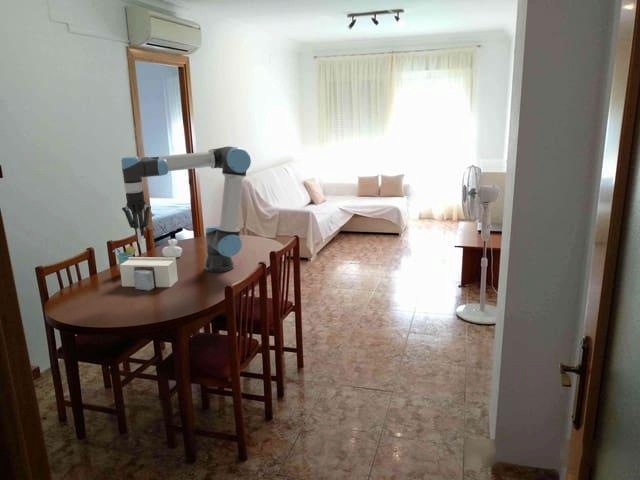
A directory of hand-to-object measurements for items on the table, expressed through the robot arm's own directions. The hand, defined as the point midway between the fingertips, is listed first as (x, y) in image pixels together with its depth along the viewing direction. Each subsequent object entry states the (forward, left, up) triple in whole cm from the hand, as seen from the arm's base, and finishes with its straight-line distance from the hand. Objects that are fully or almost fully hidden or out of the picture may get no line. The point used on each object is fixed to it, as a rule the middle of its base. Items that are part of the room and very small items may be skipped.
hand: (141, 242), depth 231 cm
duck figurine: (+9, -56, -24) cm, 62 cm away
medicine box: (+2, -2, -24) cm, 24 cm away
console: (+2, -9, -23) cm, 25 cm away
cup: (+21, -22, -24) cm, 39 cm away
